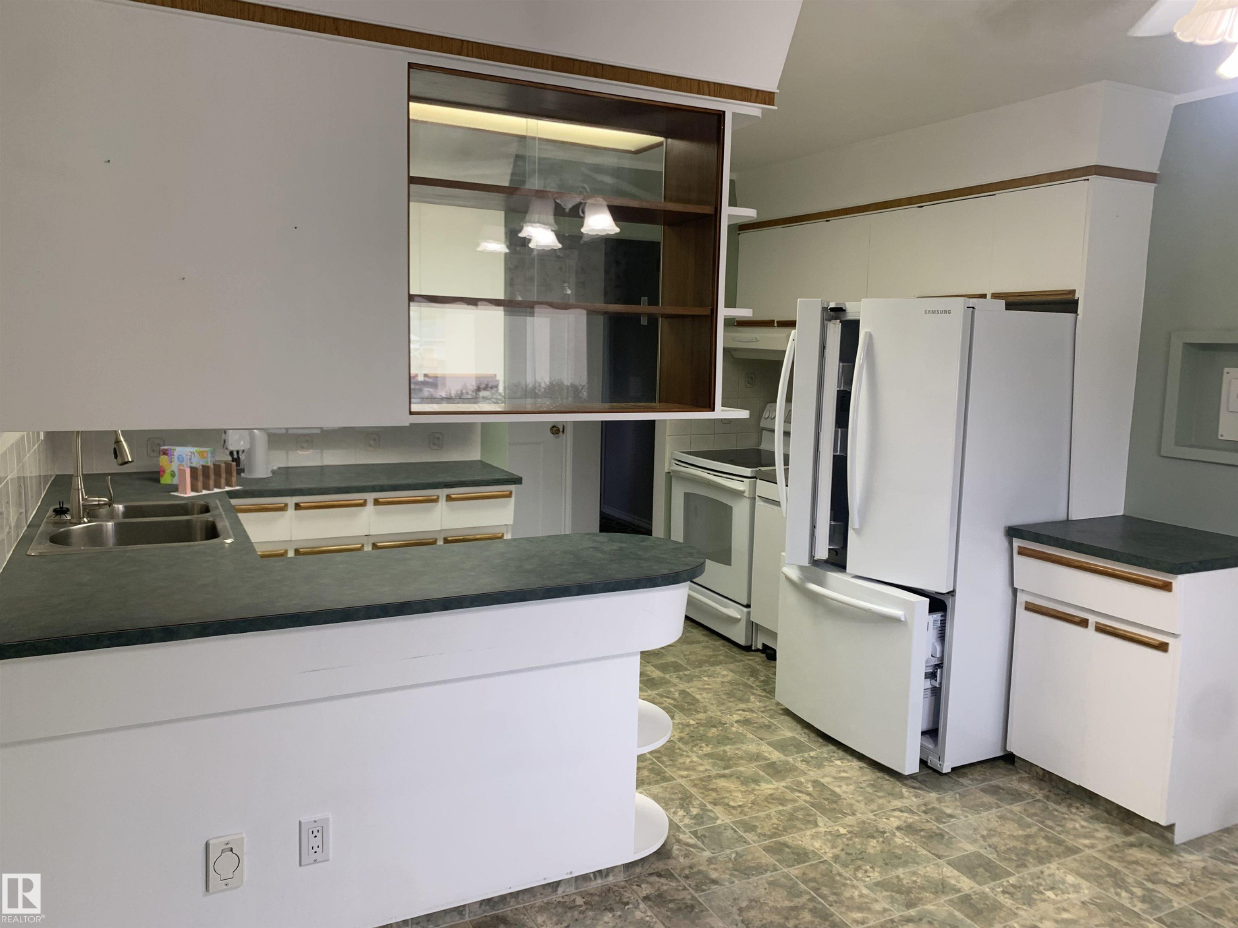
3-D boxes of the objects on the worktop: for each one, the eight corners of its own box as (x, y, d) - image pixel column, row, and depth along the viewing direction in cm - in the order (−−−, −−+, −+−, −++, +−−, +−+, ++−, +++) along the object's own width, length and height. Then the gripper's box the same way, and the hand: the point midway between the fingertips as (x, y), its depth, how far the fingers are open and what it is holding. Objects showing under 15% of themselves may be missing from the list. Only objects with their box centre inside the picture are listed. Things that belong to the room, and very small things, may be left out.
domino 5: (228, 485, 358) (227, 461, 356) (236, 487, 355) (235, 462, 354) (224, 486, 356) (223, 461, 355) (232, 487, 354) (232, 463, 352)
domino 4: (217, 487, 353) (216, 462, 352) (225, 488, 351) (224, 464, 350) (213, 487, 352) (212, 463, 351) (221, 489, 350) (220, 464, 348)
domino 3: (206, 489, 349) (205, 464, 348) (214, 490, 347) (213, 465, 345) (202, 489, 348) (201, 464, 346) (210, 491, 345) (209, 466, 344)
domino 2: (194, 490, 345) (193, 465, 343) (202, 492, 342) (201, 467, 341) (190, 491, 344) (189, 466, 342) (198, 493, 341) (197, 467, 340)
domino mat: (226, 485, 360) (226, 484, 360) (243, 488, 355) (242, 487, 355) (169, 494, 339) (169, 493, 339) (185, 497, 334) (185, 496, 334)
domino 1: (182, 492, 341) (181, 467, 339) (190, 494, 338) (189, 468, 337) (178, 493, 339) (177, 467, 338) (186, 494, 337) (185, 469, 335)
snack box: (216, 484, 363) (215, 447, 361) (208, 486, 358) (207, 449, 355) (167, 481, 365) (166, 445, 363) (159, 483, 360) (157, 447, 357)
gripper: (224, 423, 346) (226, 469, 349) (257, 421, 359) (258, 465, 361) (212, 422, 350) (213, 467, 352) (244, 419, 363) (245, 464, 365)
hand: (236, 466), depth 357 cm, fingers closed
